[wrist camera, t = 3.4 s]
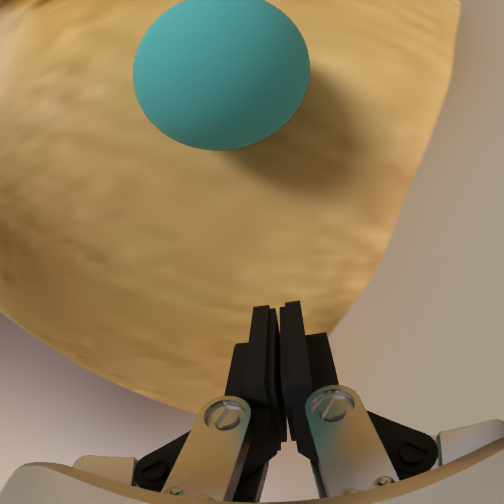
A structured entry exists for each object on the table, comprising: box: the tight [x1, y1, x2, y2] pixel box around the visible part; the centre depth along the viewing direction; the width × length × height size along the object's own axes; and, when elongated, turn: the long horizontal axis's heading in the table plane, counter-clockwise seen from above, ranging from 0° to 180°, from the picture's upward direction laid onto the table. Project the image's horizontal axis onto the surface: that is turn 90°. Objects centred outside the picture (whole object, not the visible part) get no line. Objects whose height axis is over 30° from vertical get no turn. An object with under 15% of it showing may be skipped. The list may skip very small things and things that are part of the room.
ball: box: [133, 0, 310, 150], centre depth 8 cm, size 6×6×6 cm
